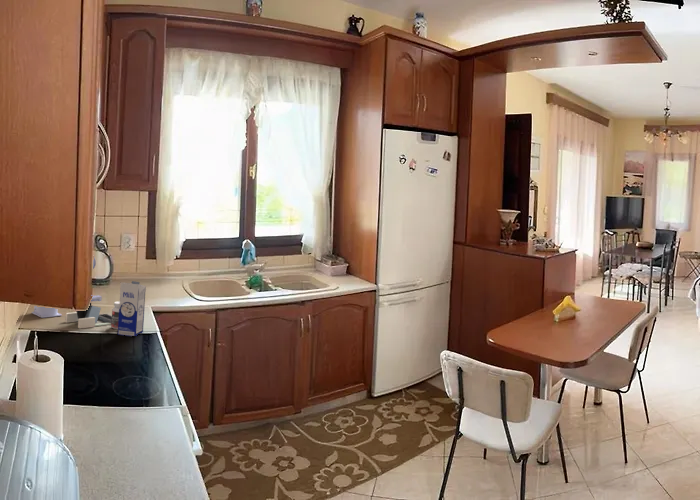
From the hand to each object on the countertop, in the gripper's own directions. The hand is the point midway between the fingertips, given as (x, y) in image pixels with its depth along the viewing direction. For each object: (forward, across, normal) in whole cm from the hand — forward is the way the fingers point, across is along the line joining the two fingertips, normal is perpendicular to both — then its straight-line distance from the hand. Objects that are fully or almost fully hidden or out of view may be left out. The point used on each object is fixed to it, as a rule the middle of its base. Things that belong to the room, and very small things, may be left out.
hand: (81, 320), depth 225 cm
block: (+1, +3, +1) cm, 3 cm away
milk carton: (+2, +9, -21) cm, 23 cm away
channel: (+1, +3, 0) cm, 3 cm away
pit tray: (+1, +11, 0) cm, 11 cm away
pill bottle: (+2, +10, -11) cm, 15 cm away
